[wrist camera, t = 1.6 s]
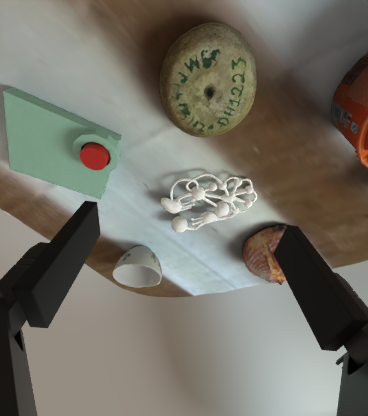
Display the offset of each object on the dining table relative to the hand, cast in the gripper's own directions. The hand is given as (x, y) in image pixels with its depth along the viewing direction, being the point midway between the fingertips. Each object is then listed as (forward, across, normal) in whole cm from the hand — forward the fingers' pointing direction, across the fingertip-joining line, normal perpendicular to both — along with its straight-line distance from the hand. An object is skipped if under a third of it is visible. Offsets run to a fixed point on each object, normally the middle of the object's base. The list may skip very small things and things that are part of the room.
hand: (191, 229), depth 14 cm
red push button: (+21, -15, -3) cm, 26 cm away
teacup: (+32, -8, -35) cm, 48 cm away
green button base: (+25, -21, -4) cm, 33 cm away
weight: (+23, +1, +9) cm, 25 cm away
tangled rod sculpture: (+28, +5, -12) cm, 30 cm away
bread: (+31, +27, -26) cm, 49 cm away
